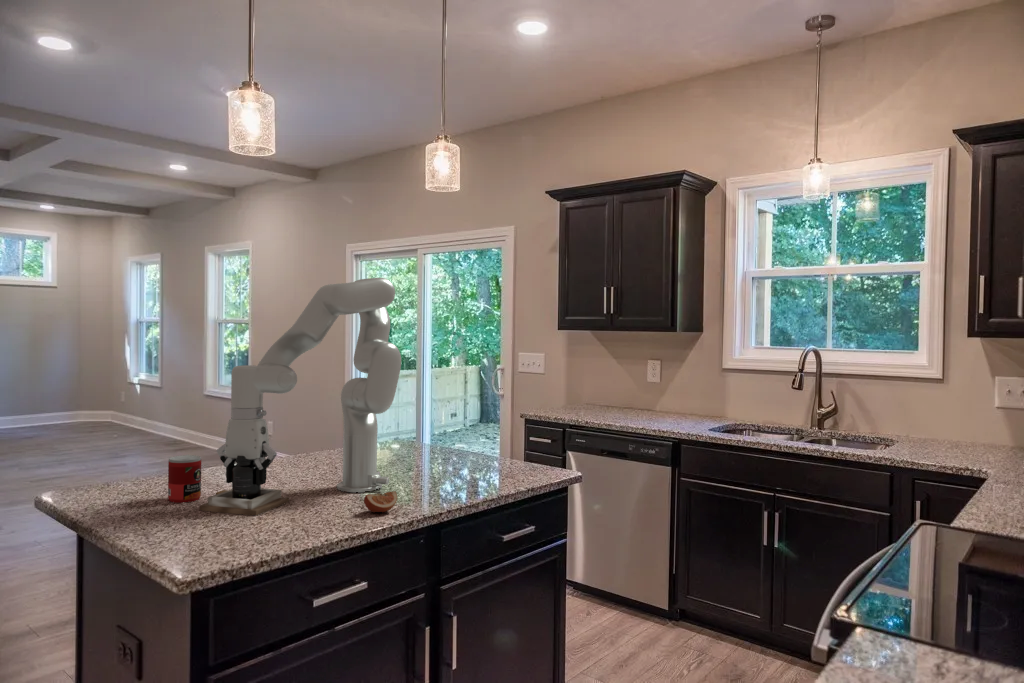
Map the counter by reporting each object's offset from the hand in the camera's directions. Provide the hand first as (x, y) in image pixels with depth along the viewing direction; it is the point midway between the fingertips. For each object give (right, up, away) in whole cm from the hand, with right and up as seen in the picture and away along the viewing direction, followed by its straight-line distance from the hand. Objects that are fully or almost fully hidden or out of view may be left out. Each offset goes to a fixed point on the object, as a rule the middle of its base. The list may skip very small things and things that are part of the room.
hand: (246, 482), depth 169 cm
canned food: (-18, -6, +6) cm, 20 cm away
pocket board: (0, -6, 0) cm, 6 cm away
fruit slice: (+35, -7, -4) cm, 36 cm away
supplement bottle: (0, -5, 0) cm, 5 cm away
